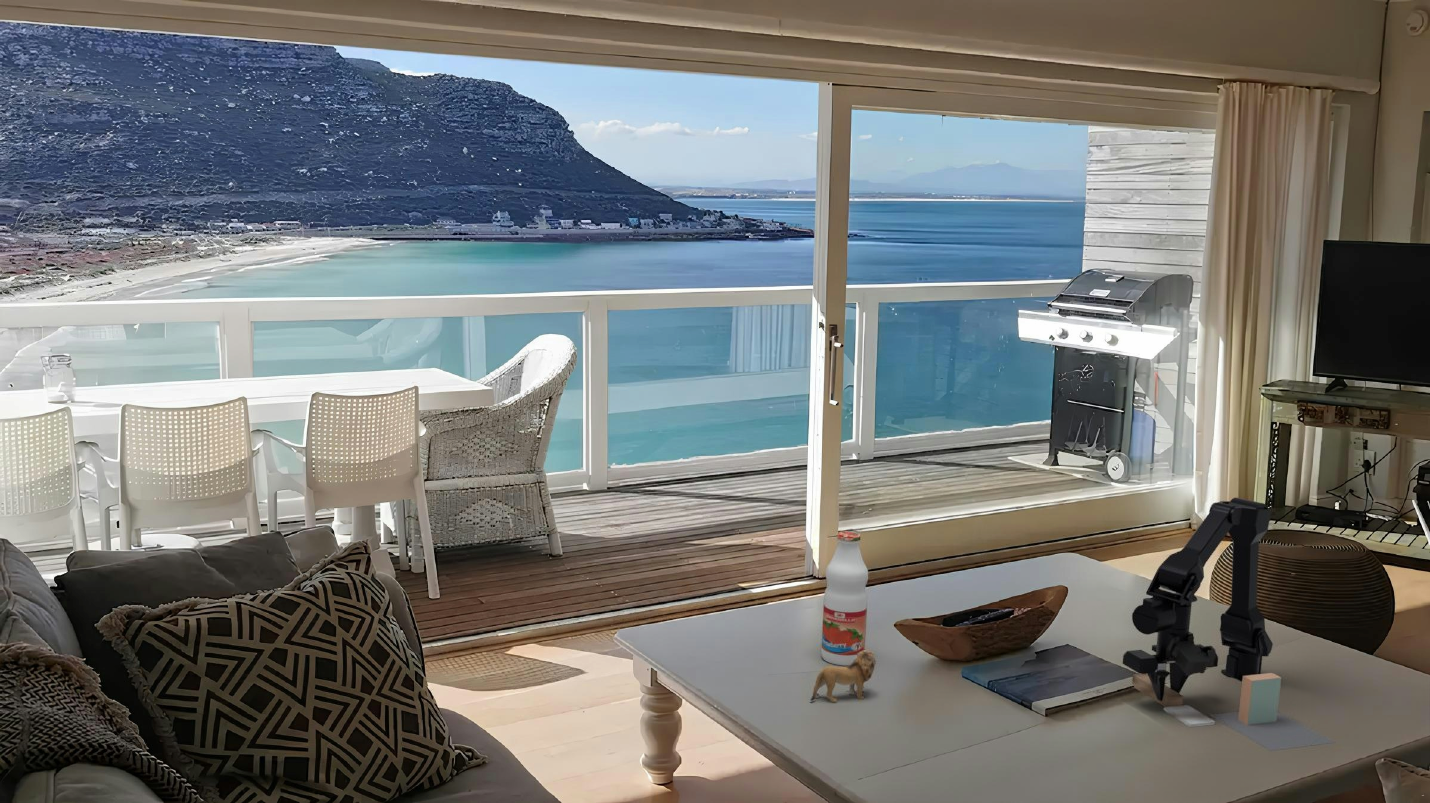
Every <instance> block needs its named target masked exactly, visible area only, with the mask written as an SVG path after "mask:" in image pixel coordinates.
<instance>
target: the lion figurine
mask: <svg viewBox="0 0 1430 803" xmlns="http://www.w3.org/2000/svg"><path fill="white" fill-rule="evenodd" d="M876 664H877V660H876V657H875V653H874V652H873V651H871V650H868V649H865V650H863V651H860V652H859V653H857V658H856V659H855V660H854V661H853V663H852V664H851V665H846V666H840V667H839V666H835V665H828V666H826V667H823V668H822V669H821V670H820V671H819V673H818V675H817V676H816V679H815V683H814V685H813V686H814V687H813V691H812V696H811V697H810V699H809V700H810V701H814V700H815V699H818V698H820V694H819V693H818V691H819V690H820V689H821V688H822V687H824V686H826V690H827V691H826V696H827V698H828V699H829V700H830V702H831V703H837V702H838V699H837V698H836V697H834V695H833V691H834V689H835V687H836V684H839V685H841V686H849V691H848V693H849V694H850V695H853V696H854V695H856V696H857V699H860V700H864V699H865V696H864V695H863V694H862V693H863V688H864V683H866V682H869V680H870V679H871V678H872V676H873V673H874V671H875V666H876ZM855 686H856V689H857V690H855Z"/></svg>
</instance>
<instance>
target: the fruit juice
mask: <svg viewBox="0 0 1430 803" xmlns="http://www.w3.org/2000/svg"><path fill="white" fill-rule="evenodd" d="M836 539H837V540H836V541H838V544H837V546H836V549H835V551H834V553H833V556H832V558H831V560H830V561H829V563H828V564H827V566H826V569H825V579H826V582H827V583H826V584H827V586H826V588H825V590H824V595H823V607H822V608H823V610H822V626H821V628H822V629H821V650H820V651H821V658H822V659H823V660H824V661H826V662H827V663H830V664H833V665H837V666H850V665H851V664H852V663H853V661H854V660H855V659H856V658H857V653H859V652H860V651H863V650H866V638H867V637H866V635H867V634H866V633H867V618H868V617H867V616H868V614H867V613H868V612H867V611H868V593H867V590H866V586H867V583H868V580H869V570H868V568H867V565H866V563H865V562H864V559H863V556H862V552H861V548H860V542H861V533H859V532H856V531H850V530H843V531H839V532H837V536H836Z"/></svg>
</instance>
